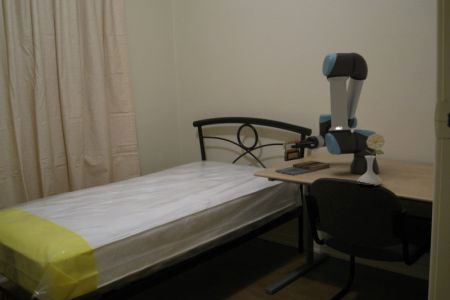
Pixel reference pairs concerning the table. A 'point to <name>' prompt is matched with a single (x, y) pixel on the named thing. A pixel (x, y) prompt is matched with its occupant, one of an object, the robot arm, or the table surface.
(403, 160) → the table surface
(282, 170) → the slate mat
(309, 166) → the walnut caddy
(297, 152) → the ammunition clip
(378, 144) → the flower in vase
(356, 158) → the robot arm
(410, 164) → the table surface
